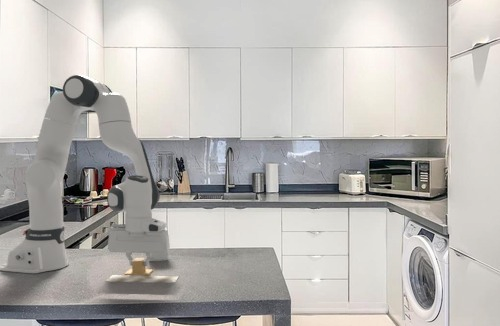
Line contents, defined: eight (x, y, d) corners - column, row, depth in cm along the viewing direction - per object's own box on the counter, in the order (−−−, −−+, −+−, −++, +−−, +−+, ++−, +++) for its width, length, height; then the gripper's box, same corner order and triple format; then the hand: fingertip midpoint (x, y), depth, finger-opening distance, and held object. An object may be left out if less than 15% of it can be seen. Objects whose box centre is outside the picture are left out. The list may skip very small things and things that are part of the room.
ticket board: (102, 285, 146) (102, 280, 146) (116, 273, 159) (116, 269, 159) (177, 287, 145) (177, 282, 145) (185, 275, 158) (185, 270, 158)
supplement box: (147, 265, 170) (147, 230, 170) (146, 259, 177) (146, 227, 177) (168, 263, 172) (167, 230, 172) (166, 258, 179) (166, 226, 179)
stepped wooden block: (124, 275, 153) (124, 261, 153) (129, 270, 158) (129, 257, 158) (148, 275, 152) (148, 262, 152) (152, 271, 158) (152, 257, 158)
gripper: (104, 225, 152) (105, 267, 153) (166, 226, 151) (166, 268, 152) (111, 222, 158) (111, 262, 159) (170, 223, 157) (170, 263, 158)
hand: (139, 265), depth 155 cm, fingers closed on stepped wooden block, 3 cm apart
